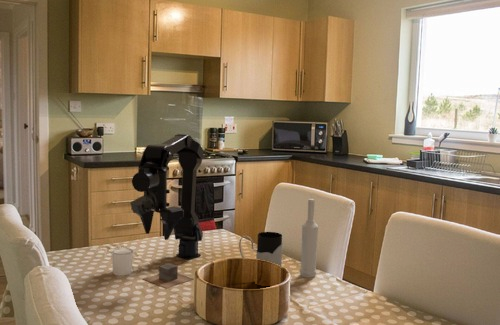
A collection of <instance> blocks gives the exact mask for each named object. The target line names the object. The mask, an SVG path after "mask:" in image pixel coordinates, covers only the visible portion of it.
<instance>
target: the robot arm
mask: <svg viewBox="0 0 500 325" xmlns="http://www.w3.org/2000/svg"><path fill="white" fill-rule="evenodd" d="M175 154H176V155H177V157H178V158H177V159H178V164H179V166H180V168H181V170H182V179H181V180H182V181H181V198H180V207H179V206H170V202H167V199H168V198H167V194H170V189H169V188H167V187H168V186H167V184H168V179H167V177H168V173H167V172H168V171H169V170H170V167H169V166H168V165H169V163H170V162H171V161H172V159H173V156H174V155H175ZM204 154H205V152H204V149H203V147H202V146H201V144H200V142H197V140H194V139H193V138H192V136H191V135H189V134H184V133H177V134H175V135H174V136H173V137H171V138H170V139H167V140H165V141H164V142H162V143H153V144H148V145H147V146H145V149H144V150H143V152H142V155H141V159H140V161H139V164H138V169H137V172H136V173H135V174H134V175H133V176H132V179H131V184H132V188H133V189H134V190H136V191H137V192H140V193H143V195H142V196H139V197H137V198H136V199H134V200H132V201H131V202H130V207H131V209H130V210H131V211H132V213H133V214H136V215H137V216H139V218H140V221H141V223H142V226H143V229H144V232H145V234H146V235H149V234H150V233H151V232H150V231H151V229H152V223H153V219H154V214H155V213H159V214H160V217H161V218H160V219H159V220H160V221H161V222H162V224H163V237H164V241H167V240H169V238H170V236H171V234H172V232H174V239H175V240H179V244H178V253H176V254H175V256H176V257H179V258H182V259H184V260H185V259H186V260H191V259H194V258H198V257H201V256H202V254H201V253H199V242H202V241H203V234H204V232H203V230H202V228H201V227H200V222H199V217H198V215H197V213H196V212H195V210H196V189H197V171H198V169H199V167H200V166H201V165H202V163H203V162H202V161H203V158H204Z"/></svg>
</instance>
